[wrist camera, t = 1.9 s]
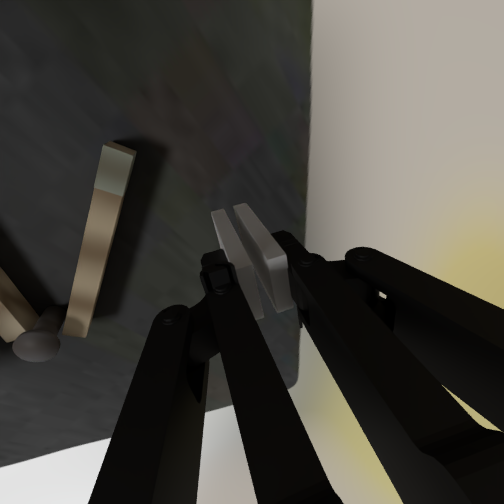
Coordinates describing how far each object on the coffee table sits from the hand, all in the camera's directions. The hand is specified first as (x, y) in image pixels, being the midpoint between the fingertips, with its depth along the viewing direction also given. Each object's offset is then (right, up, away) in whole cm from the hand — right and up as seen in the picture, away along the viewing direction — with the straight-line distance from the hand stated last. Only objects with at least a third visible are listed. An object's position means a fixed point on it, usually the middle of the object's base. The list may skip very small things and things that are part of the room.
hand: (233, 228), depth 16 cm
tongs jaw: (-16, 0, +14) cm, 21 cm away
